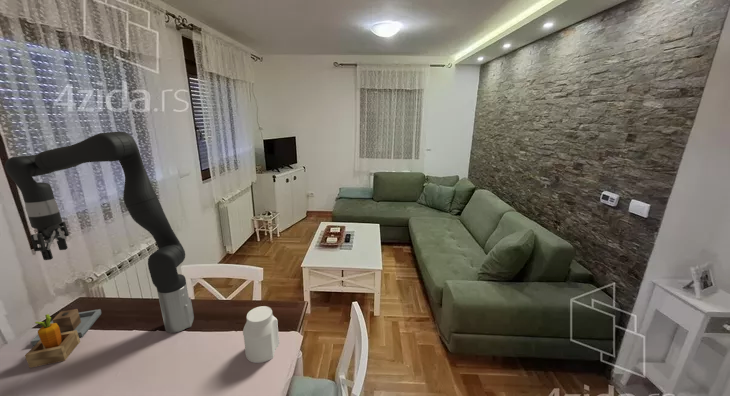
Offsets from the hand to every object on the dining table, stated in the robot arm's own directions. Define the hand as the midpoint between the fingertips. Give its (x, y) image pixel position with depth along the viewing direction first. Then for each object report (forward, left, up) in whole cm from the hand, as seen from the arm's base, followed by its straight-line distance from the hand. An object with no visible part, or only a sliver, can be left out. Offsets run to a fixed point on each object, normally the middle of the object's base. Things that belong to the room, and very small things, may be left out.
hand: (56, 254), depth 105 cm
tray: (+1, +3, -30) cm, 30 cm away
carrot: (-2, +17, -30) cm, 35 cm away
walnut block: (+1, +3, -29) cm, 29 cm away
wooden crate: (-2, +17, -30) cm, 34 cm away
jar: (-69, +38, -30) cm, 84 cm away
